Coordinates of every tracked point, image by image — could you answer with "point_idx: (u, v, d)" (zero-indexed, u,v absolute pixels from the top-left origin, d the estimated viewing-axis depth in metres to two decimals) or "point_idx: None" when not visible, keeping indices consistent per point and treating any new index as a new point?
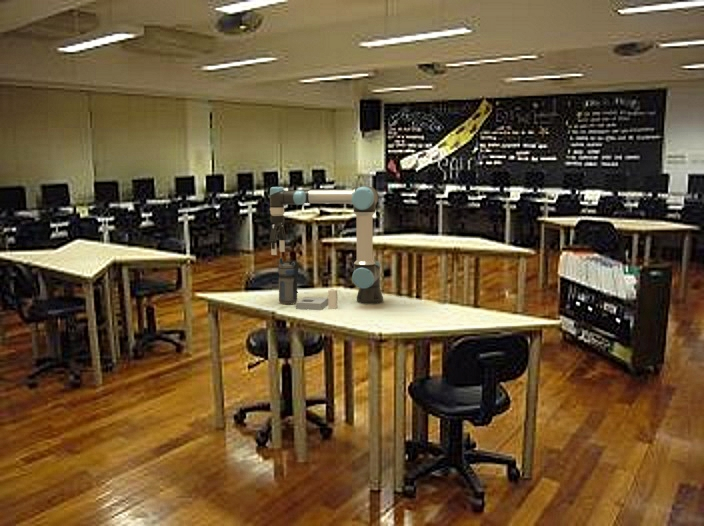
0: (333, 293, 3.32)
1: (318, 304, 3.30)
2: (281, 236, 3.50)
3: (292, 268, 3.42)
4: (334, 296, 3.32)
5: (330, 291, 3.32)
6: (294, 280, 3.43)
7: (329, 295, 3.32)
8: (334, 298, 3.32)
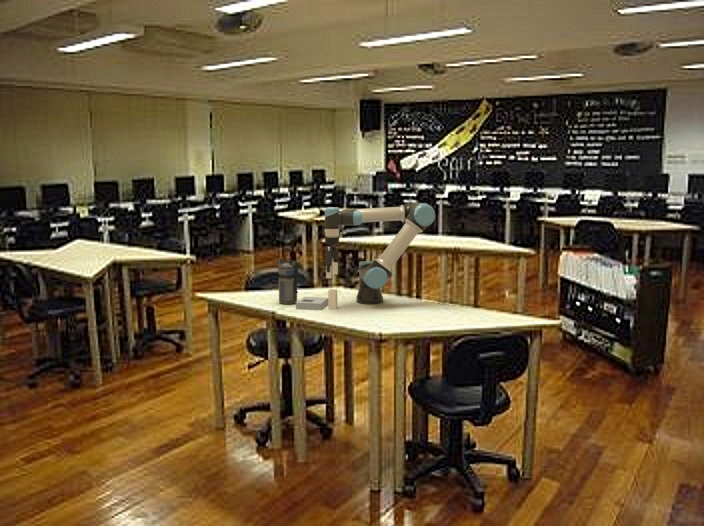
0: (333, 293, 3.32)
1: (318, 304, 3.30)
2: (335, 258, 3.37)
3: (292, 268, 3.42)
4: (334, 296, 3.32)
5: (330, 291, 3.32)
6: (294, 280, 3.43)
7: (329, 295, 3.32)
8: (334, 298, 3.32)
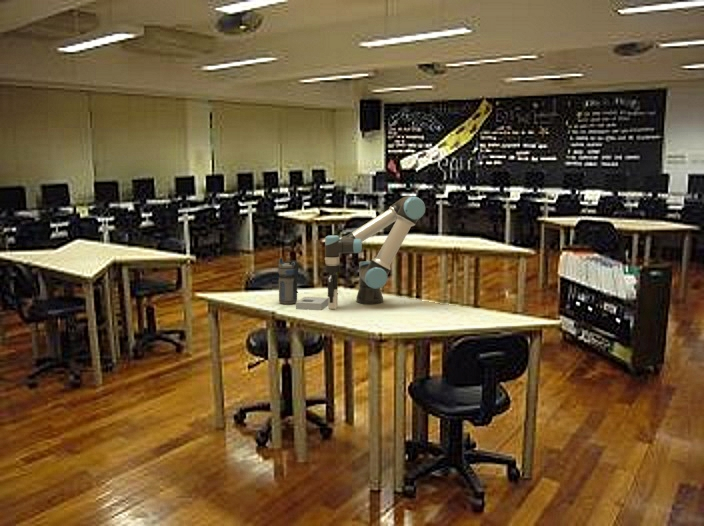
0: None
1: (318, 304, 3.30)
2: None
3: (292, 268, 3.42)
4: (334, 296, 3.32)
5: None
6: (294, 280, 3.43)
7: None
8: (334, 298, 3.32)
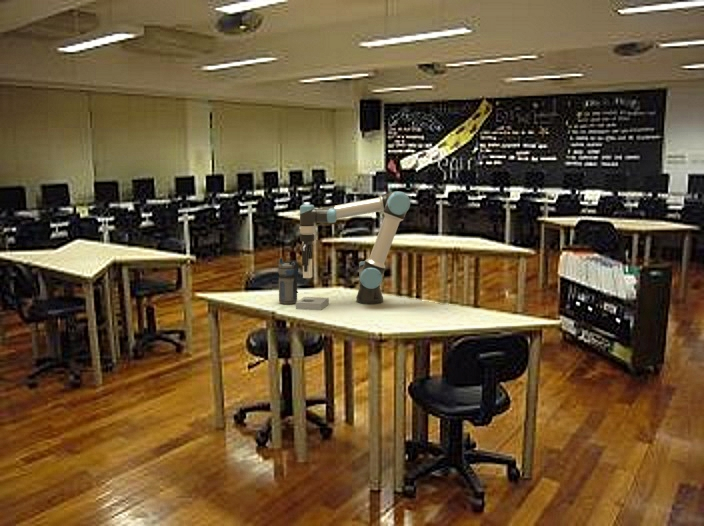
0: (308, 262, 3.32)
1: (318, 304, 3.30)
2: (308, 258, 3.36)
3: (292, 268, 3.42)
4: (309, 265, 3.32)
5: None
6: (294, 280, 3.43)
7: None
8: (309, 267, 3.33)
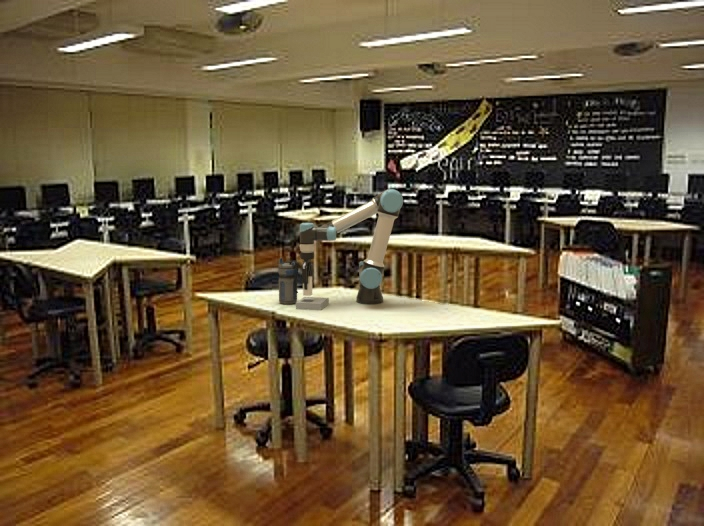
0: (308, 280, 3.34)
1: (318, 304, 3.30)
2: None
3: (292, 268, 3.42)
4: (309, 283, 3.34)
5: None
6: (294, 280, 3.43)
7: None
8: (309, 285, 3.34)
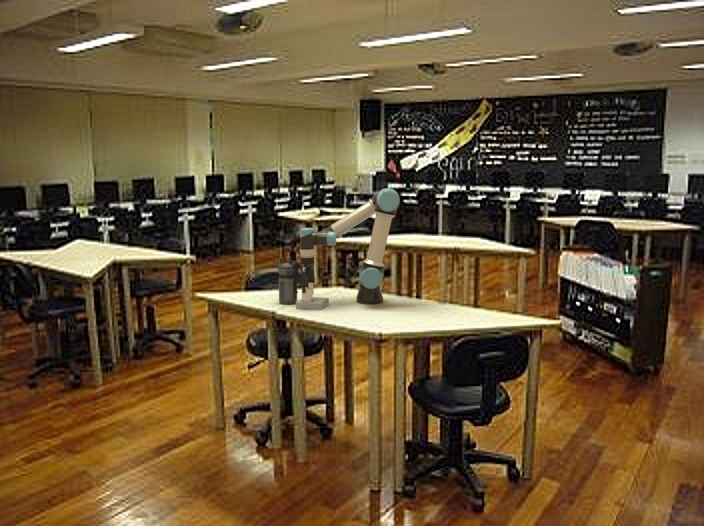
0: (308, 292, 3.35)
1: (318, 304, 3.30)
2: (310, 278, 3.41)
3: (292, 268, 3.42)
4: (309, 295, 3.35)
5: None
6: (294, 280, 3.43)
7: None
8: (309, 297, 3.35)
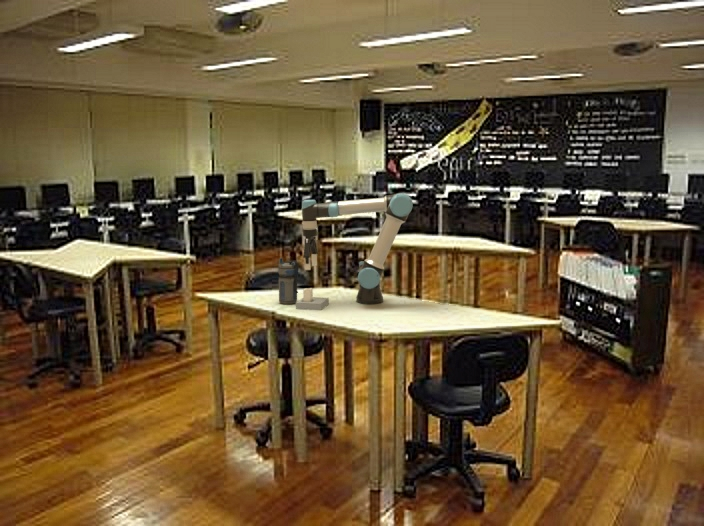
0: (308, 292, 3.35)
1: (318, 304, 3.30)
2: (313, 250, 3.41)
3: (292, 268, 3.42)
4: (309, 295, 3.35)
5: (305, 290, 3.35)
6: (294, 280, 3.43)
7: (304, 294, 3.35)
8: (309, 297, 3.35)
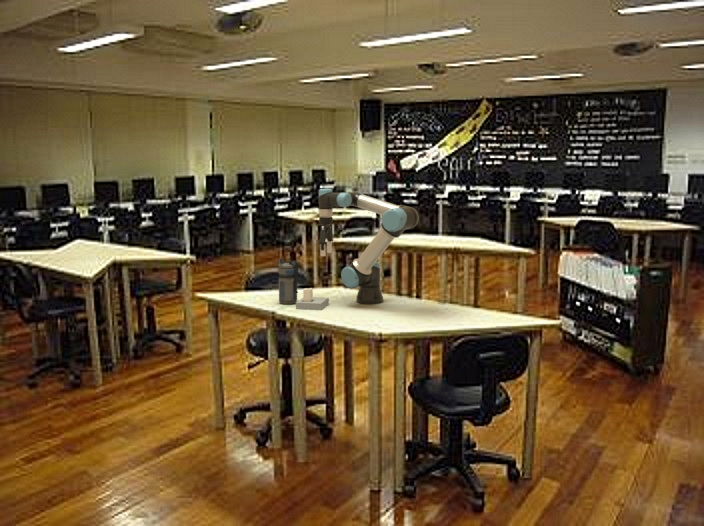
0: (308, 292, 3.35)
1: (318, 304, 3.30)
2: (329, 237, 3.53)
3: (292, 268, 3.42)
4: (309, 295, 3.35)
5: (305, 290, 3.35)
6: (294, 280, 3.43)
7: (304, 294, 3.35)
8: (309, 297, 3.35)
